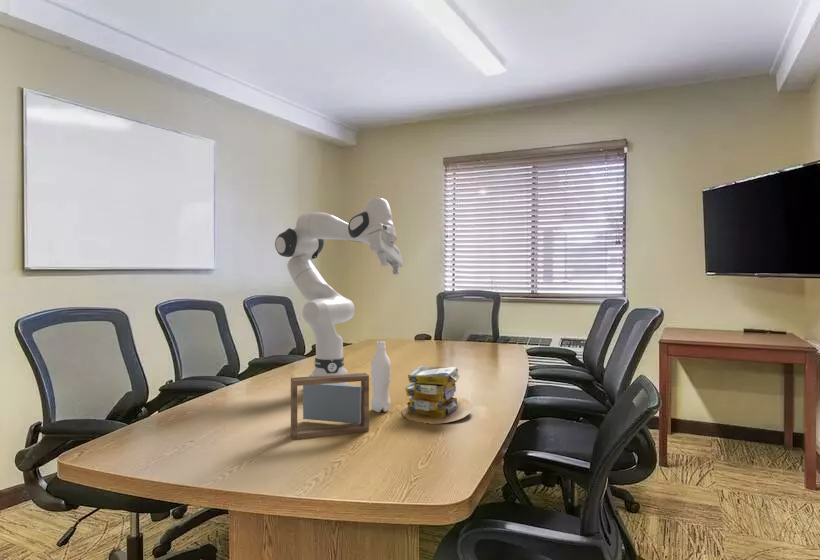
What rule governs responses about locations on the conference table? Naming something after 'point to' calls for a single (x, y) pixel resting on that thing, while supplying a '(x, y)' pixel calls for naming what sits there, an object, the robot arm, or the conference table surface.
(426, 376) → the yellow stacked packages
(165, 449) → the conference table surface
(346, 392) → the door
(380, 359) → the water bottle
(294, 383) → the brown wooden frame
